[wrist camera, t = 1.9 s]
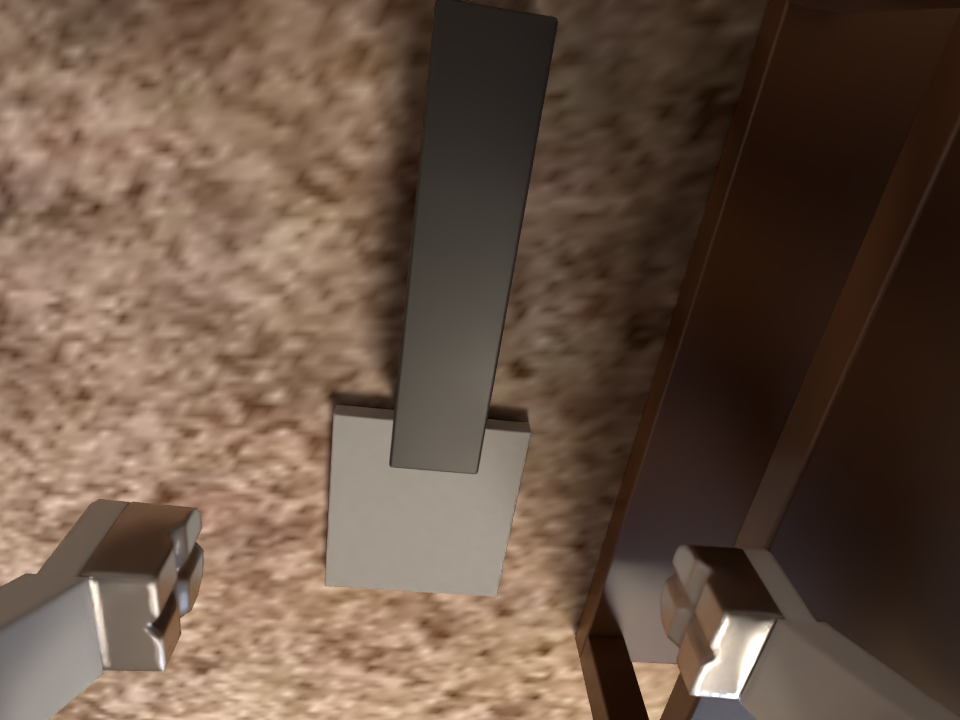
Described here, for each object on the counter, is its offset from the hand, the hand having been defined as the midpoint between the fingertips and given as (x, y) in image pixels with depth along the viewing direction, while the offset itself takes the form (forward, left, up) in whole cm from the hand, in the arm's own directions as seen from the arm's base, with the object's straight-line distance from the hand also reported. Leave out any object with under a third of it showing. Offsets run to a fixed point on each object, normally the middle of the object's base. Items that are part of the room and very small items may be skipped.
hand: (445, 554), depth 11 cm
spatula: (0, 0, -9) cm, 9 cm away
